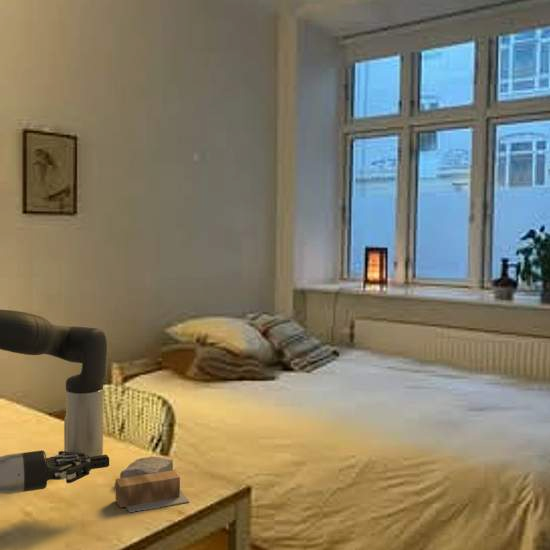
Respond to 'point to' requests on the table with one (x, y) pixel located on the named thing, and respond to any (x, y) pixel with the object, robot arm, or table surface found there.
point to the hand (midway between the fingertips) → (108, 460)
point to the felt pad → (158, 503)
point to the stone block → (147, 466)
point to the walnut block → (147, 488)
